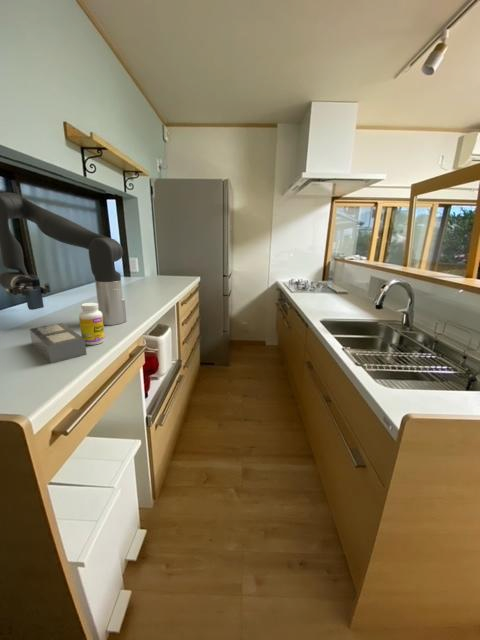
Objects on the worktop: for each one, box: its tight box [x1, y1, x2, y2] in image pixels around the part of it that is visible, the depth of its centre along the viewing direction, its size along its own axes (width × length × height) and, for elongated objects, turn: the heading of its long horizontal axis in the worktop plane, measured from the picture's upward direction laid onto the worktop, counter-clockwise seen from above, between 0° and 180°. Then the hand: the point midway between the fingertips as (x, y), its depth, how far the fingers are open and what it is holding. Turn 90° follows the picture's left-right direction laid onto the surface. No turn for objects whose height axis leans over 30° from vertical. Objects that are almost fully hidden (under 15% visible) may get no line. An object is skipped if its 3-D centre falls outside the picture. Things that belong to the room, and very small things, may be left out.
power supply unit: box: [28, 323, 88, 364], centre depth 82 cm, size 9×20×5 cm, turn 48°
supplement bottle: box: [78, 302, 106, 346], centre depth 87 cm, size 7×7×13 cm
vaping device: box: [25, 275, 45, 311], centre depth 99 cm, size 3×5×12 cm, turn 161°
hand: (35, 292), depth 97 cm, fingers closed on vaping device, 5 cm apart
